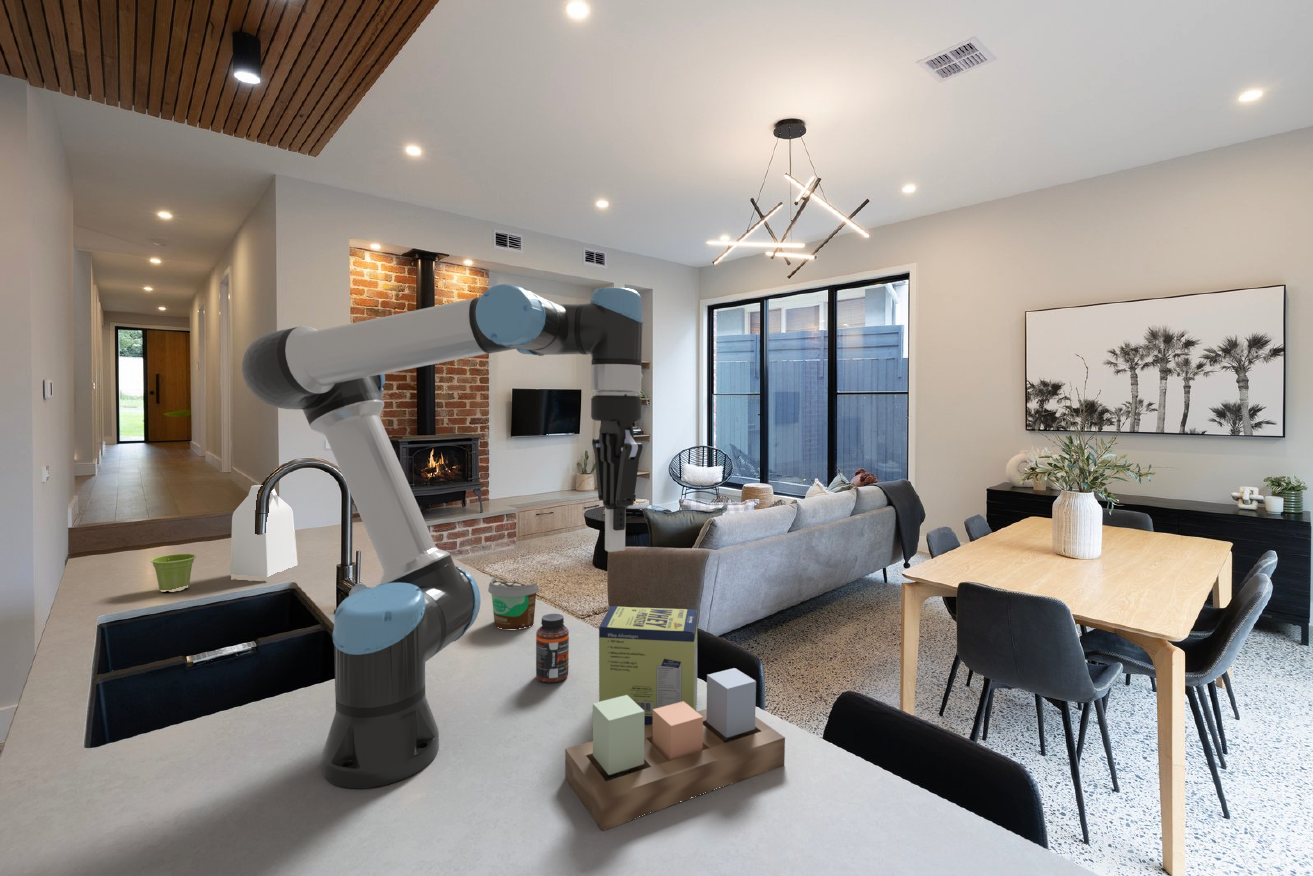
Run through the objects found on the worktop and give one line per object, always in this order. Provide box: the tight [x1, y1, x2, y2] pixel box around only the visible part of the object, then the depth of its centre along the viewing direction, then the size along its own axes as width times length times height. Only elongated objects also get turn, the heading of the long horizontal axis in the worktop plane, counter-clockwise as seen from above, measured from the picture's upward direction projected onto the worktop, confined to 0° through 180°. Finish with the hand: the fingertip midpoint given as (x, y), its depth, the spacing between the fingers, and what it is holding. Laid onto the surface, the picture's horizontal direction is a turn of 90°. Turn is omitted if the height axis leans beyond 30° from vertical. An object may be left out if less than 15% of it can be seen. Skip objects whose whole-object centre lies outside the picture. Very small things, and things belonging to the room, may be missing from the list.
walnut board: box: [564, 708, 786, 832], centre depth 85 cm, size 28×12×4 cm, turn 119°
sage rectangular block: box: [592, 695, 645, 775], centre depth 80 cm, size 5×5×7 cm
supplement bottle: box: [535, 613, 570, 684], centre depth 114 cm, size 6×6×11 cm
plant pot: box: [150, 553, 197, 591], centre depth 164 cm, size 9×9×9 cm
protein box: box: [598, 605, 698, 726], centre depth 102 cm, size 10×16×16 cm
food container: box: [487, 576, 540, 630], centre depth 139 cm, size 12×6×10 cm, turn 68°
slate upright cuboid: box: [706, 667, 757, 738], centre depth 89 cm, size 5×5×7 cm
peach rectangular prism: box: [652, 701, 703, 761], centre depth 85 cm, size 5×5×7 cm
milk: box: [229, 484, 299, 577], centre depth 178 cm, size 12×12×26 cm
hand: (615, 550), depth 94 cm, fingers closed
